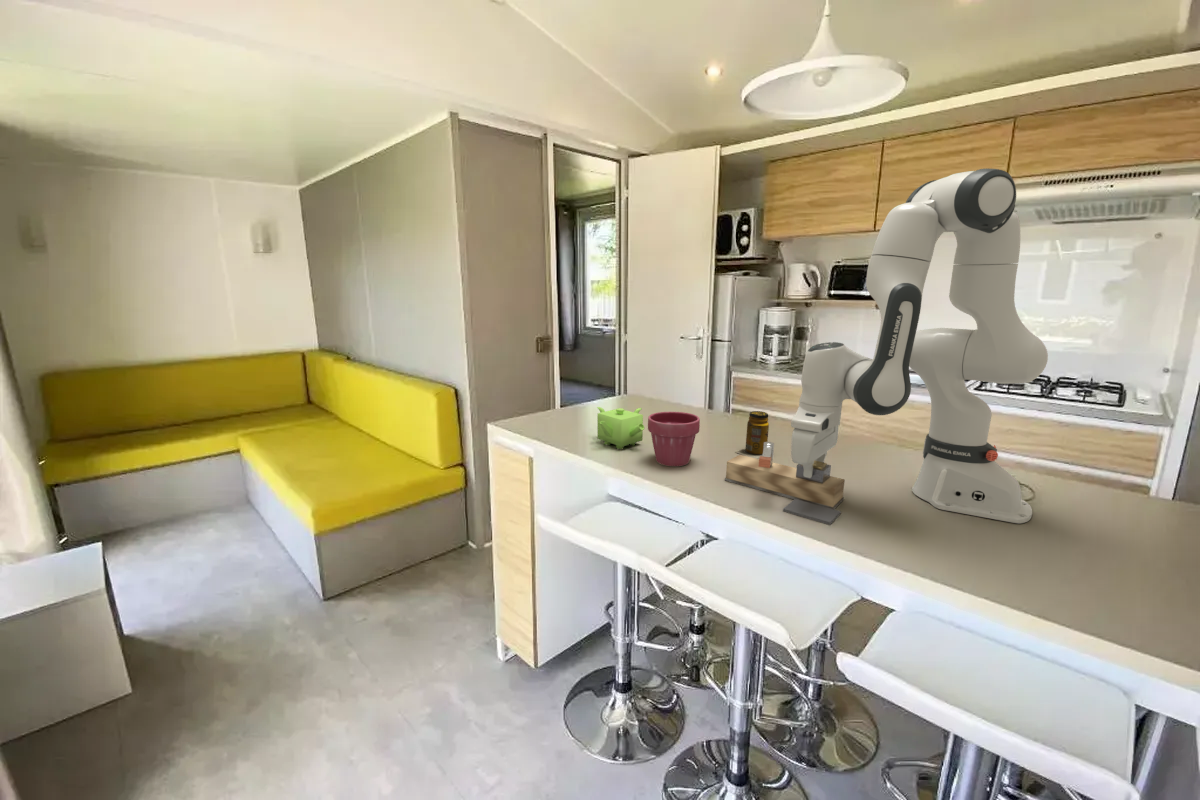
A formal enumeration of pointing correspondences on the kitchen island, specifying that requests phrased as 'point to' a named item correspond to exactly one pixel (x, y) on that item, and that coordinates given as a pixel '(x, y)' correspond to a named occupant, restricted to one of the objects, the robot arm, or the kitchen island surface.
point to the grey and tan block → (815, 472)
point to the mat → (812, 511)
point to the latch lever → (767, 455)
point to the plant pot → (673, 436)
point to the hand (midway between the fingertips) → (813, 472)
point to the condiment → (756, 434)
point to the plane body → (784, 482)
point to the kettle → (620, 427)
